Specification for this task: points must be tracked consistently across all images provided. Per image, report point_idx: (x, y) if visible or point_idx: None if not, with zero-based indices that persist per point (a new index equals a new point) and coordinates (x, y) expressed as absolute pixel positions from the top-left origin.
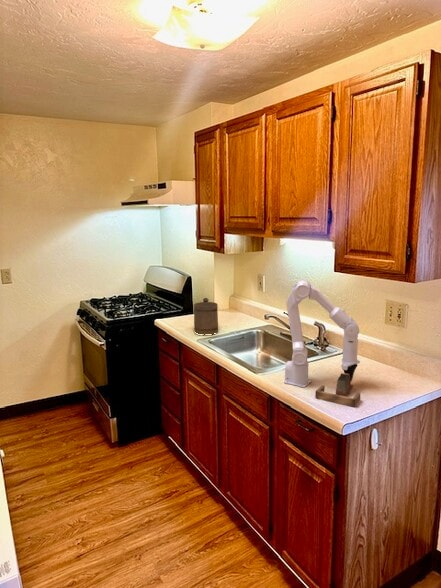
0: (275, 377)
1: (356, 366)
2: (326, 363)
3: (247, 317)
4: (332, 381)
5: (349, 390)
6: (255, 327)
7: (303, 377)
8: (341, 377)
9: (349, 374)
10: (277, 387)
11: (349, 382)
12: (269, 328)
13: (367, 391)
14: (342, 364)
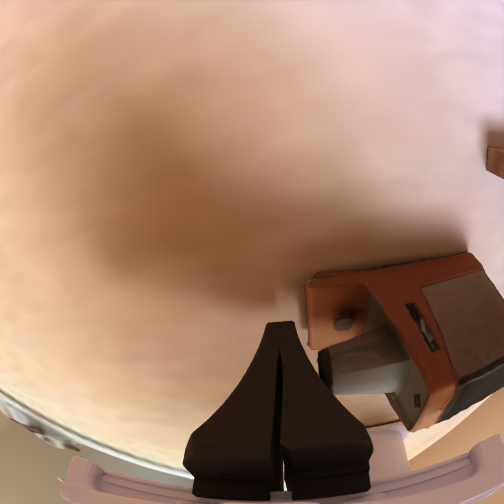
0: None
1: (268, 450)
2: (97, 427)
3: None
4: None
5: (405, 267)
6: None
7: (402, 460)
8: (491, 386)
9: (432, 387)
10: (430, 444)
11: (429, 316)
12: None
13: (288, 143)
14: (475, 501)
